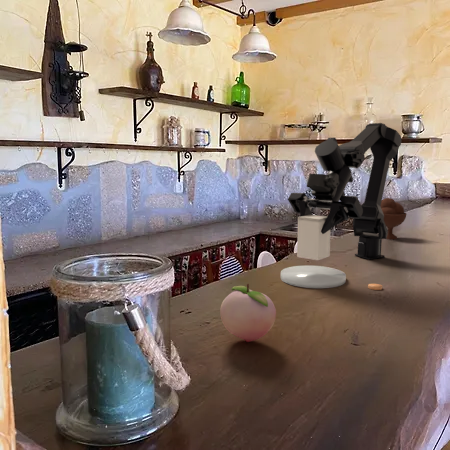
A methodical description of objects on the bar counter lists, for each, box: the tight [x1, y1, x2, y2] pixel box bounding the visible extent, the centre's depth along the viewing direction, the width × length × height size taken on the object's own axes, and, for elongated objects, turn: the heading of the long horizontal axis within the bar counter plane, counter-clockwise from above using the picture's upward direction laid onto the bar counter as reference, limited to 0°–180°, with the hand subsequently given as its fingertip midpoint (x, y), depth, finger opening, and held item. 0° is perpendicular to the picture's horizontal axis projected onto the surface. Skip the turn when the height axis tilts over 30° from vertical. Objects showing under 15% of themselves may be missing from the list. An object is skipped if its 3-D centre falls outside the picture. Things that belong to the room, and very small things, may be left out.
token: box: [367, 283, 383, 291], centre depth 105 cm, size 3×3×1 cm
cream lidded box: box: [296, 214, 331, 261], centre depth 111 cm, size 6×6×10 cm
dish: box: [280, 265, 347, 289], centre depth 112 cm, size 16×16×2 cm
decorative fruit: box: [219, 283, 277, 343], centre depth 74 cm, size 9×8×10 cm
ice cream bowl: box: [381, 197, 407, 240], centre depth 167 cm, size 11×11×15 cm
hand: (311, 231), depth 110 cm, fingers closed on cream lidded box, 6 cm apart
